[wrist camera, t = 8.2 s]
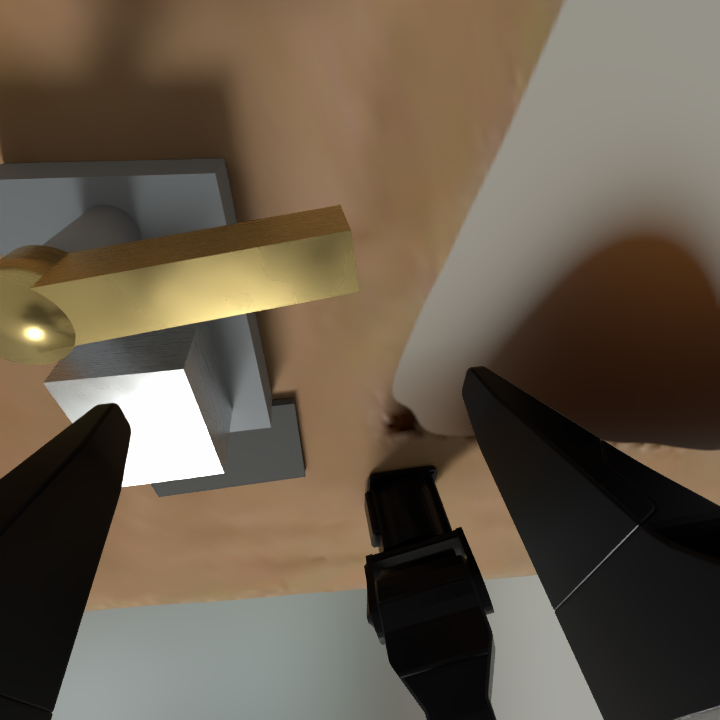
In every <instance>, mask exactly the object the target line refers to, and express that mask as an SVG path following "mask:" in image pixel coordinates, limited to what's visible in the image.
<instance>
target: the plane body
mask: <svg viewBox="0 0 720 720" xmlns="http://www.w3.org/2000/svg"><path fill="white" fill-rule="evenodd" d="M236 223H237V218H236V213H235V208H234V203H233V199H232V194H231V189H230V184H229V179H228V174H227V169H226V164H225V159H224V158H211V159H170V160H128V161H87V162H45V163H4V164H0V254H1V255H2V257H4V256H6V255H7V254H9V253H10V252H12V251H13V250H15V249H17V248H19V247H23V246H28V245H44V246H50V247H54V248H57V249H60V250H63V251H65V252H68V253H72V252H77V251H83V250H89V249H94V248H100V247H106V246H111V245H117V244H123V243H128V242H134V241H140V240H145V239H151V238H157V237H162V236H168V235H174V234H179V233H185V232H191V231H196V230H202V229H207V228H213V227H219V226H224V225H230V224H236ZM206 324H207V327H208V330H209V333H210V337H211V340H212V343H213V346H214V350H215V353H216V356H217V359H218V363H219V366H220V369H221V373H222V376H223V379H224V382H225V386H226V389H227V392H228V395H229V399H230V402H231V405H232V408H233V412H232V419H231V426H230V432H237V431H245V430H253V429H262V428H270V427H271V416H272V392H271V387H270V382H269V377H268V372H267V367H266V362H265V358H264V353H263V348H262V343H261V338H260V333H259V328H258V323H257V318H256V313H255V312H251V313H245V314H240V315H235V316H230V317H224V318H219V319H214V320H209V321H206Z"/></svg>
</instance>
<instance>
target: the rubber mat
mask: <svg viewBox="0 0 720 720" xmlns="http://www.w3.org/2000/svg"><path fill="white" fill-rule="evenodd" d="M299 477H305V467H304V461H303V454H302V447H301V441H300V434H299V427H298V421H297V414H296V407H295V400H294V398H288V399H279V400H272V416H271V427H270V428H262V429H253V430H245V431H237V432H230V433H229V440H228V448H227V455H226V462H225V469H224V473H222V474H214V475H207V476H199V477H192V478H185V479H177V480H170V481H162V482H155V483H150V484H151V485H152V487H153V488H154V490H155V492H156V493H157V495H158V496H159V497H163V496H170V495H177V494H184V493H191V492H198V491H205V490H213V489H220V488H227V487H234V486H241V485H248V484H256V483H263V482H270V481H277V480H284V479H291V478H299Z"/></svg>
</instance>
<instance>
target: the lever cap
mask: <svg viewBox="0 0 720 720" xmlns="http://www.w3.org/2000/svg"><path fill="white" fill-rule="evenodd" d="M43 383H44V385H45V386H46V388H47V389H48V390H49V392H50V393H51V394H52V396H53V397H54V399H55V400H56V401H57V403H58V404H59V405H60V407H61V408H62V410H63V411H64V412H65V414H66V415H67V416H68V418H69V419H70V420H71V422H72V423H74V422H75V421H76V420H77V419H79V418H80V417H81V416H83V415H84V414H85V413H86V412H88V411H89V410H90V409H92V408H93V407H94V406H96V405H99V404H107V403H116V404H118V405H119V406H120V408H121V410H122V412H123V413H124V415H125V417H126V419H127V420H128V422H129V424H130V427H131V438H130V444H129V449H128V455H127V461H126V466H125V472H124V477H123V483H122V487H125V486H132V485H140V484H147V483H155V482H162V481H170V480H177V479H185V478H192V477H199V476H207V475H214V474H222V473H224V469H225V462H226V455H227V448H228V440H229V433H230V426H231V419H232V412H233V408H232V405H231V402H230V399H229V395H228V392H227V389H226V386H225V382H224V379H223V376H222V373H221V369H220V366H219V363H218V359H217V356H216V353H215V350H214V346H213V343H212V340H211V337H210V333H209V330H208V327H207V324H206V321H203V322H198V323H193V324H187V325H182V326H177V327H172V328H166V329H161V330H156V331H151V332H145V333H140V334H135V335H130V336H124V337H119V338H114V339H109V340H103V341H98V342H93V343H87V344H82V345H77V346H75V347H74V348H73V350H72V351H71V352H70V353H69V355H67V356H66V357H65V358H63V359H61V360H60V361H59V362H58V363H57V365H56V366H55V367H54V369H53V370H52V371H51V373H50V374H49V376H48V377H47V378H46V380H45V381H44V382H43Z"/></svg>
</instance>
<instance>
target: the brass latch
mask: <svg viewBox="0 0 720 720" xmlns="http://www.w3.org/2000/svg"><path fill="white" fill-rule="evenodd" d="M356 292H359V286H358V279H357V271H356V264H355V257H354V249H353V242H352V235H351V229H350V227H349V225H348V222H347V220H346V217H345V215H344V213H343V210H342V208H341V205H337V206H332V207H326V208H320V209H315V210H309V211H304V212H298V213H292V214H287V215H281V216H275V217H270V218H264V219H258V220H253V221H247V222H241V223H236V224H230V225H224V226H219V227H213V228H207V229H202V230H196V231H191V232H185V233H179V234H174V235H168V236H162V237H157V238H151V239H145V240H140V241H134V242H128V243H123V244H117V245H111V246H106V247H100V248H94V249H89V250H83V251H77V252H72V253H68V252H65V251H63V250H60V249H57V248H54V247H50V246H44V245H28V246H23V247H19V248H17V249H15V250H13V251H12V252H10V253H9V254H7V255H6V256H4V257H3V258H2V259H0V358H3V359H5V360H9V361H12V362H17V363H22V364H32V365H40V364H49V363H53V362H57V361H59V360H61V359H63V358H65V357H66V356H67V355H69V353H70V352H71V351H72V350H73V348H74V347H75V346H77V345H82V344H87V343H93V342H98V341H103V340H109V339H114V338H119V337H124V336H130V335H135V334H140V333H145V332H151V331H156V330H161V329H166V328H172V327H177V326H182V325H187V324H193V323H198V322H203V321H209V320H214V319H219V318H224V317H230V316H235V315H240V314H245V313H251V312H256V311H261V310H266V309H272V308H277V307H282V306H287V305H293V304H298V303H303V302H308V301H314V300H319V299H324V298H330V297H335V296H340V295H345V294H351V293H356Z"/></svg>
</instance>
